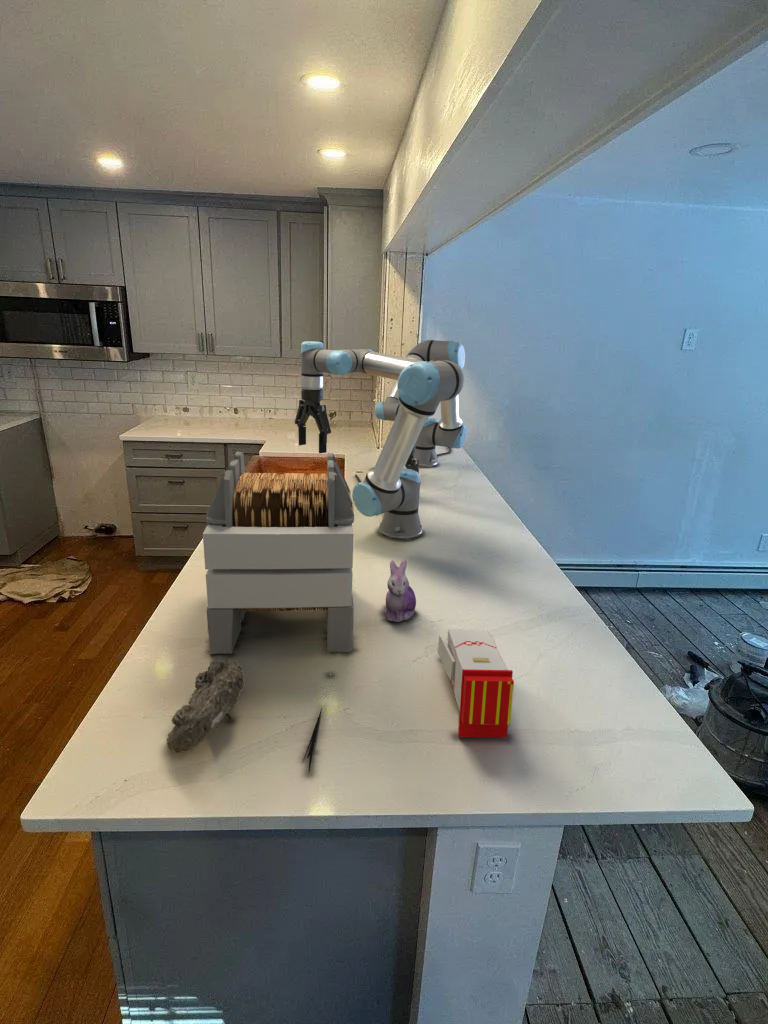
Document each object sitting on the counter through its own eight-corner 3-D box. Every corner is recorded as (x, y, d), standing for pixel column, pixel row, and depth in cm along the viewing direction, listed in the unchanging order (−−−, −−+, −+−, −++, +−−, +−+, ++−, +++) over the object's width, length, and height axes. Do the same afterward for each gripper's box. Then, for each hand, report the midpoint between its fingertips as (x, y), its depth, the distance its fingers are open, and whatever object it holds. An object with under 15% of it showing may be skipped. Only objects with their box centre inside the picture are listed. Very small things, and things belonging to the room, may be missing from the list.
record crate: (229, 585, 158) (221, 442, 144) (346, 584, 161) (350, 444, 148) (206, 656, 126) (193, 481, 112) (353, 652, 130) (358, 483, 116)
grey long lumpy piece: (192, 660, 117) (244, 628, 112) (224, 691, 120) (276, 661, 115) (142, 746, 98) (202, 712, 93) (182, 779, 101) (242, 748, 96)
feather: (331, 679, 122) (336, 673, 122) (307, 777, 96) (313, 769, 95) (324, 675, 122) (329, 669, 121) (298, 772, 95) (304, 764, 95)
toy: (488, 613, 130) (523, 677, 101) (484, 667, 133) (517, 744, 104) (435, 612, 130) (455, 676, 101) (432, 666, 133) (451, 743, 103)
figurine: (392, 627, 141) (395, 572, 136) (374, 608, 149) (376, 556, 144) (425, 619, 145) (429, 566, 140) (405, 601, 154) (408, 550, 149)
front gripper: (341, 392, 188) (340, 454, 195) (302, 383, 206) (303, 440, 213) (322, 393, 184) (322, 457, 191) (284, 384, 202) (285, 442, 209)
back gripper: (431, 446, 225) (427, 500, 232) (396, 436, 240) (394, 487, 248) (417, 448, 220) (413, 503, 228) (382, 438, 236) (380, 489, 243)
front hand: (312, 448), depth 202 cm, fingers open, 13 cm apart
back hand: (403, 495), depth 238 cm, fingers open, 9 cm apart
